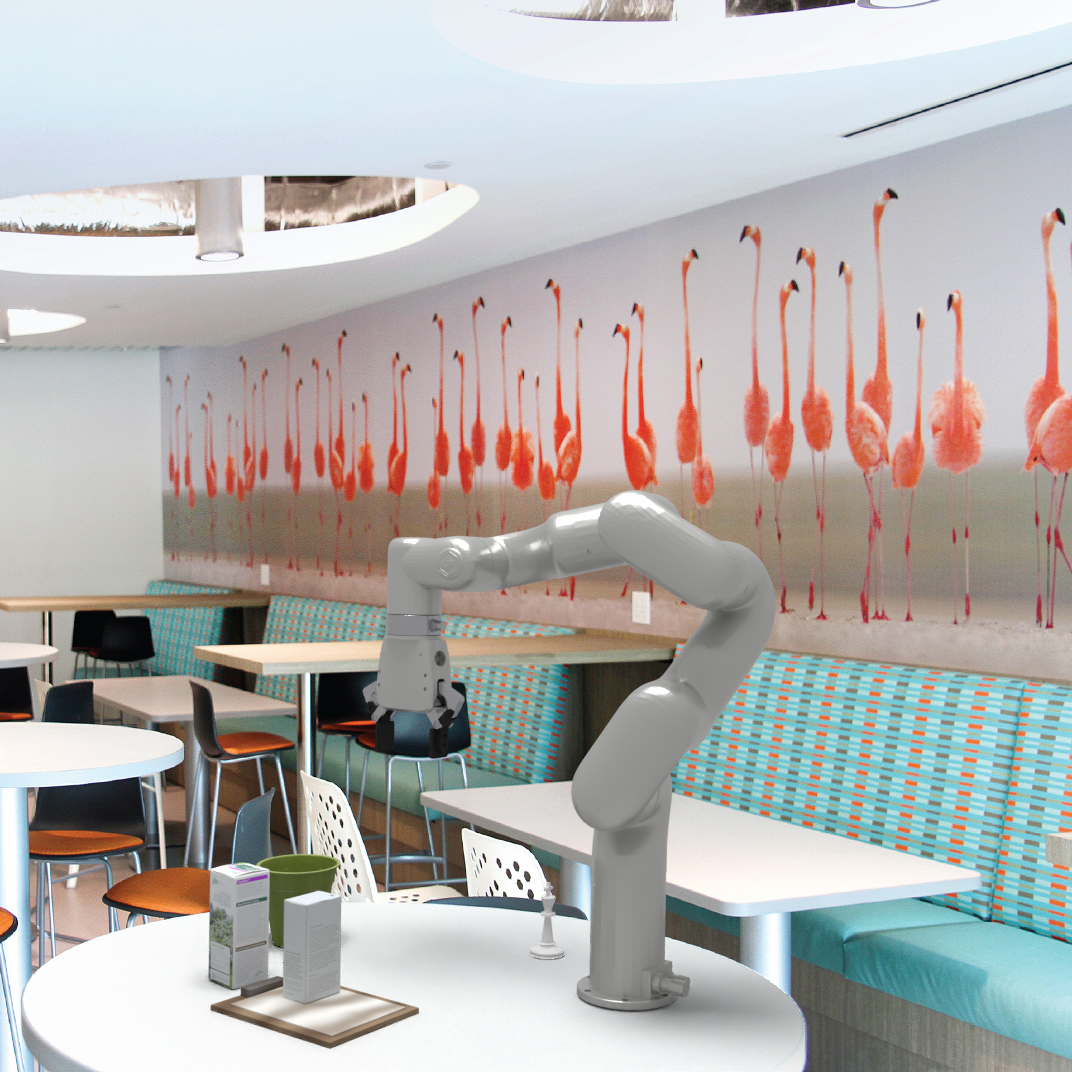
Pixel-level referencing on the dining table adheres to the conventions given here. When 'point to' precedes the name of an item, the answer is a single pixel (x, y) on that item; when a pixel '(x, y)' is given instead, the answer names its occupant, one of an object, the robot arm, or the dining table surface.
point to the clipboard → (314, 1012)
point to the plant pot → (295, 883)
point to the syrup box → (239, 924)
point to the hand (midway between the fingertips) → (411, 754)
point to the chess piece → (547, 930)
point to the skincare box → (311, 946)
